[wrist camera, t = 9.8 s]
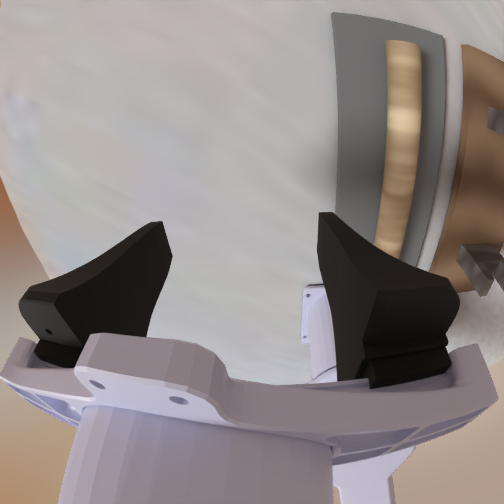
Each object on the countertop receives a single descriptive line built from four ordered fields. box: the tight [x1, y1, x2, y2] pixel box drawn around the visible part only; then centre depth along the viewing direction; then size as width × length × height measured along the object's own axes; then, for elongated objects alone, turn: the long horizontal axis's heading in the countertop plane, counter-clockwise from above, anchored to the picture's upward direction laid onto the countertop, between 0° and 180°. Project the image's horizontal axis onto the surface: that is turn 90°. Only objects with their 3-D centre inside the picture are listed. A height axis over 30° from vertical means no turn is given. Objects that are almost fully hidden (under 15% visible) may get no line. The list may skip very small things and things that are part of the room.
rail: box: [374, 40, 422, 259], centre depth 18 cm, size 22×2×2 cm, turn 5°
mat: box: [331, 12, 445, 267], centre depth 19 cm, size 26×9×1 cm, turn 5°
